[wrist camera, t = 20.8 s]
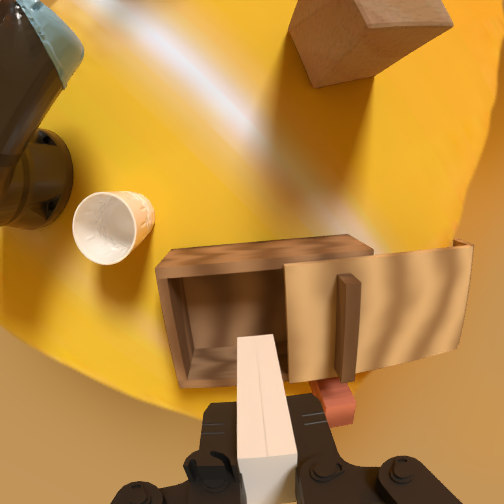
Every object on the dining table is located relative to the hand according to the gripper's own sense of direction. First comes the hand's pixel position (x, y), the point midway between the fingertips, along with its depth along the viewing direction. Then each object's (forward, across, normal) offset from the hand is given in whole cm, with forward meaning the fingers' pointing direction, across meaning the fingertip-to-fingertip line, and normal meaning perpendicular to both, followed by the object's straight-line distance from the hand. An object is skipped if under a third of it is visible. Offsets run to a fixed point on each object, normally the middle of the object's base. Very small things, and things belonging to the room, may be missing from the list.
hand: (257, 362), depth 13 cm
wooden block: (+30, +14, +25) cm, 41 cm away
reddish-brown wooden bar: (+29, +10, -22) cm, 38 cm away
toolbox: (+29, +2, -9) cm, 31 cm away
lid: (+24, +16, -9) cm, 30 cm away
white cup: (+30, -15, +4) cm, 33 cm away
